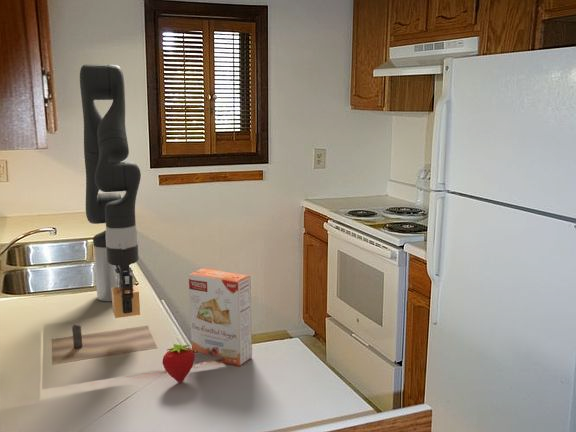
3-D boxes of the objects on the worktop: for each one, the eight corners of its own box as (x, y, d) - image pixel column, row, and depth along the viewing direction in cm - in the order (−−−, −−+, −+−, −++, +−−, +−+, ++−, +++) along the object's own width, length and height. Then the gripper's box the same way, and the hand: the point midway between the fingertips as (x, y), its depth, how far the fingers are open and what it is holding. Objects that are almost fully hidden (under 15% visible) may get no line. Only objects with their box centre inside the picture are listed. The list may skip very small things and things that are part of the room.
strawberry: (157, 383, 130) (155, 340, 128) (185, 372, 135) (183, 330, 134) (173, 392, 126) (171, 348, 124) (201, 380, 131) (200, 337, 130)
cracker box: (190, 356, 144) (187, 273, 140) (205, 347, 149) (202, 267, 145) (239, 367, 137) (237, 281, 134) (253, 358, 143) (251, 274, 139)
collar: (112, 310, 151) (111, 287, 150) (136, 306, 153) (135, 284, 152) (115, 318, 145) (113, 294, 144) (140, 314, 148) (138, 291, 146)
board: (52, 344, 152) (49, 316, 150) (147, 330, 160) (146, 304, 159) (52, 370, 137) (50, 339, 135) (157, 353, 146) (156, 324, 144)
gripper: (103, 238, 151) (107, 301, 154) (108, 252, 138) (113, 320, 141) (133, 235, 154) (137, 297, 157) (141, 248, 140) (145, 316, 144)
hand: (126, 308), depth 149 cm, fingers closed on collar, 6 cm apart
